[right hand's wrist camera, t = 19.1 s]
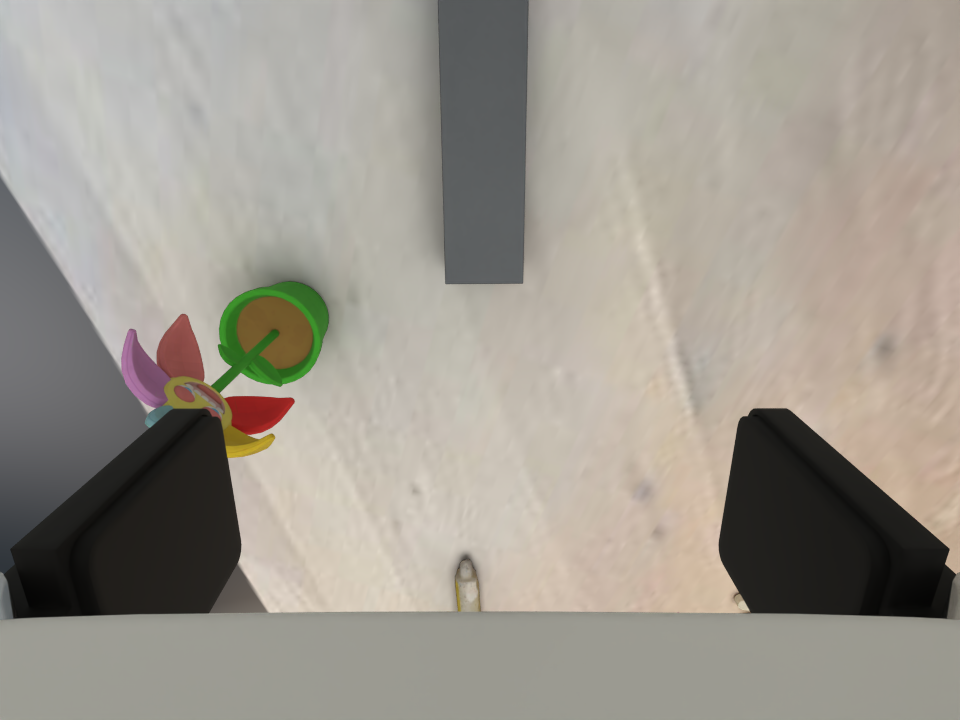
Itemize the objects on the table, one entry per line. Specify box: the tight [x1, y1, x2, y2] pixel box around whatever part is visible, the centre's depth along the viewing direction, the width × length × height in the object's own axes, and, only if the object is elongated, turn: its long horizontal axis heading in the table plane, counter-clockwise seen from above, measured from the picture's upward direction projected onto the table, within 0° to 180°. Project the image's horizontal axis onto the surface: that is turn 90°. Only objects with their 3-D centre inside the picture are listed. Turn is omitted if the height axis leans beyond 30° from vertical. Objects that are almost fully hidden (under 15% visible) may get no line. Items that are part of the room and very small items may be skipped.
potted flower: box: [121, 282, 329, 458], centre depth 41 cm, size 9×8×25 cm
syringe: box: [455, 559, 481, 612], centre depth 65 cm, size 25×4×3 cm, turn 2°
